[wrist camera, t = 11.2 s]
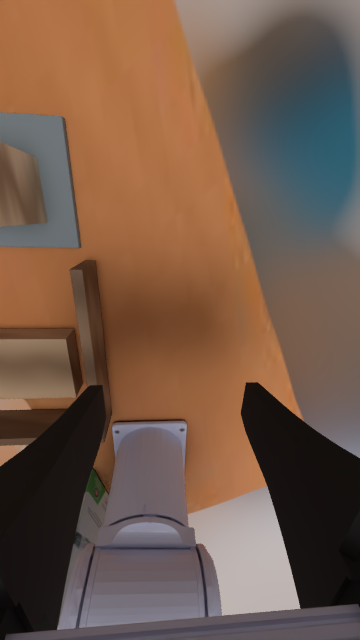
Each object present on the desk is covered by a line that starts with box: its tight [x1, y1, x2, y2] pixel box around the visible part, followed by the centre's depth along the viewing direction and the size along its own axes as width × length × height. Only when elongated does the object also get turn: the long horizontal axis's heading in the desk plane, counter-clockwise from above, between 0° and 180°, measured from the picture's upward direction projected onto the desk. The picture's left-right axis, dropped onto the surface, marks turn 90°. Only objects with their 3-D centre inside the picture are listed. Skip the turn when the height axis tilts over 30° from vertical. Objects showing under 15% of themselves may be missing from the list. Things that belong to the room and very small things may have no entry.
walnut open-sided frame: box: [0, 260, 112, 446], centre depth 20 cm, size 16×14×4 cm
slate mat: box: [0, 113, 81, 248], centre depth 17 cm, size 8×8×1 cm
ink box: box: [57, 469, 109, 630], centre depth 25 cm, size 9×5×12 cm, turn 12°
